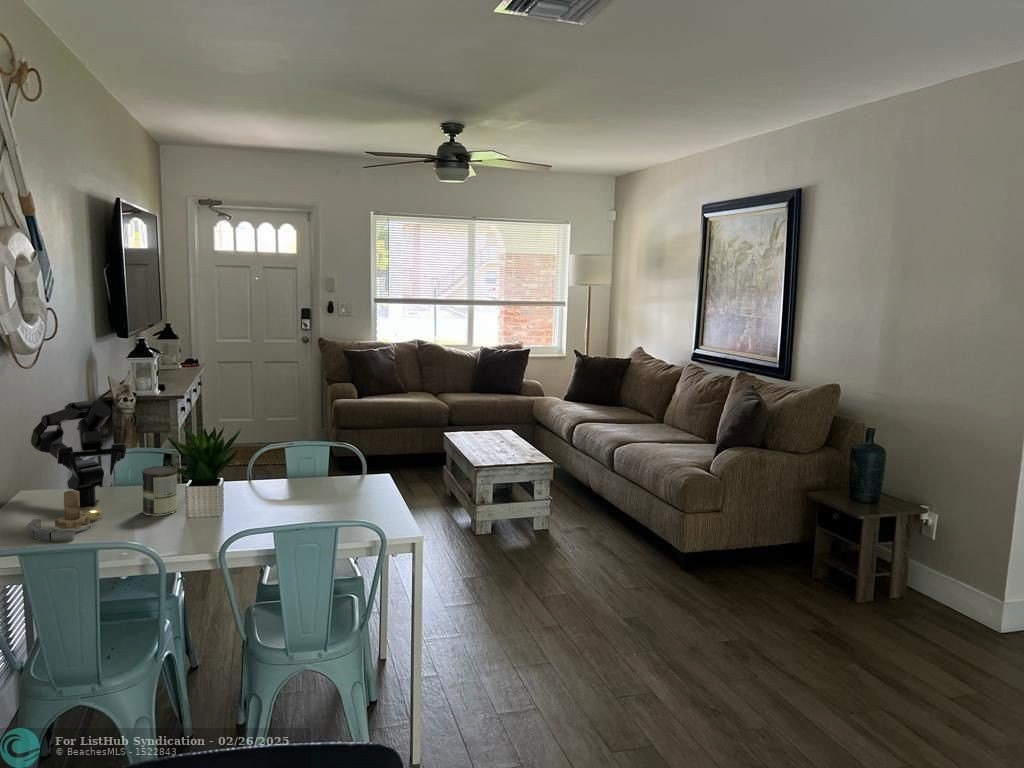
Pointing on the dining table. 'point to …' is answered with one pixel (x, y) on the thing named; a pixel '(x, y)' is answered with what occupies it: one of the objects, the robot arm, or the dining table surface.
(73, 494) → the gear
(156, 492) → the coffee can
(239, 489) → the dining table surface
